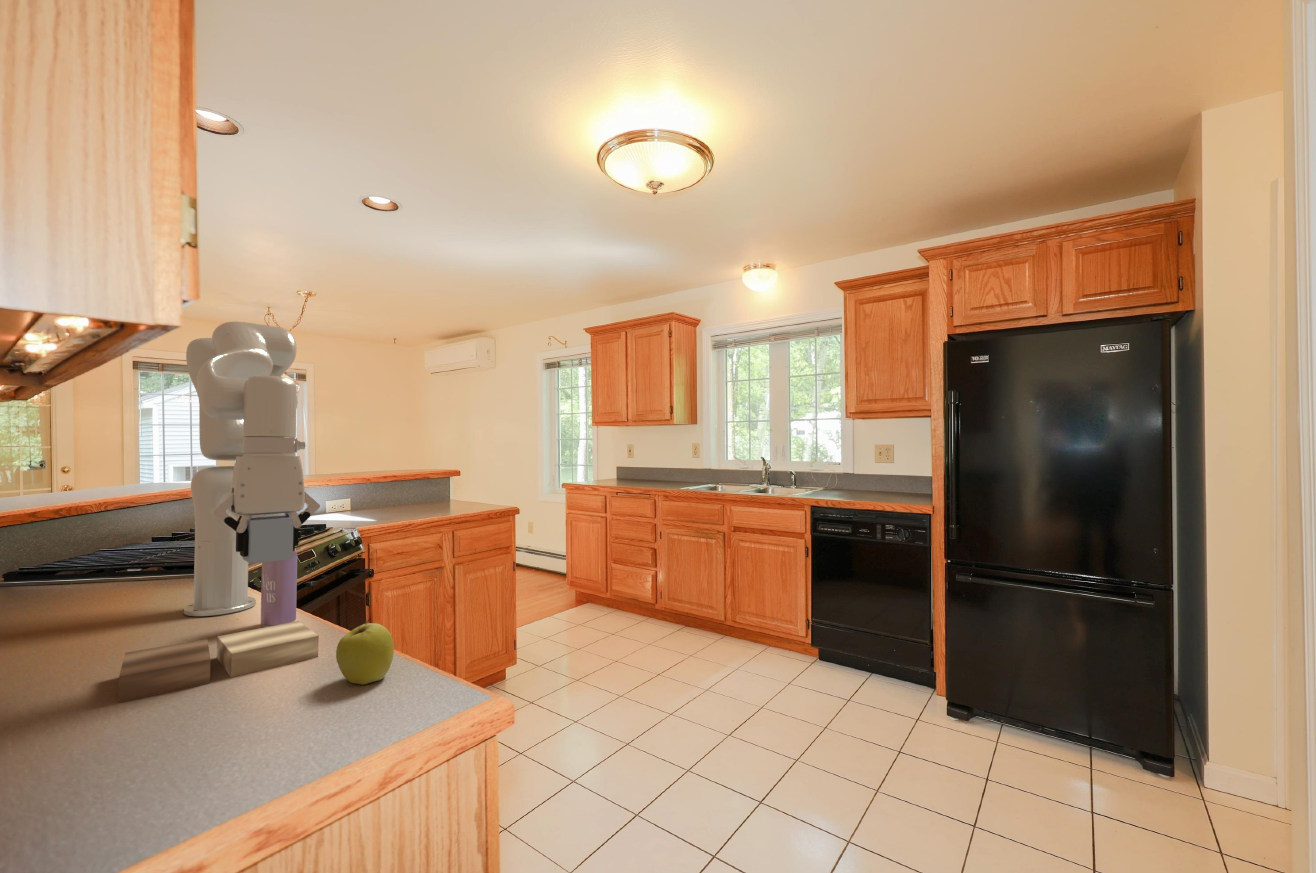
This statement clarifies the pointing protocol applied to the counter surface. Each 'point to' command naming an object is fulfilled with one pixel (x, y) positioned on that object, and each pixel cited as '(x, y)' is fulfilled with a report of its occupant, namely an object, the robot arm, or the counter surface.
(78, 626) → the counter surface
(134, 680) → the walnut plinth
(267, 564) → the beverage can
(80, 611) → the counter surface
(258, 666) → the maple plinth
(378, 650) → the apple
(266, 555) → the grey block
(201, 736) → the counter surface
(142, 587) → the counter surface
